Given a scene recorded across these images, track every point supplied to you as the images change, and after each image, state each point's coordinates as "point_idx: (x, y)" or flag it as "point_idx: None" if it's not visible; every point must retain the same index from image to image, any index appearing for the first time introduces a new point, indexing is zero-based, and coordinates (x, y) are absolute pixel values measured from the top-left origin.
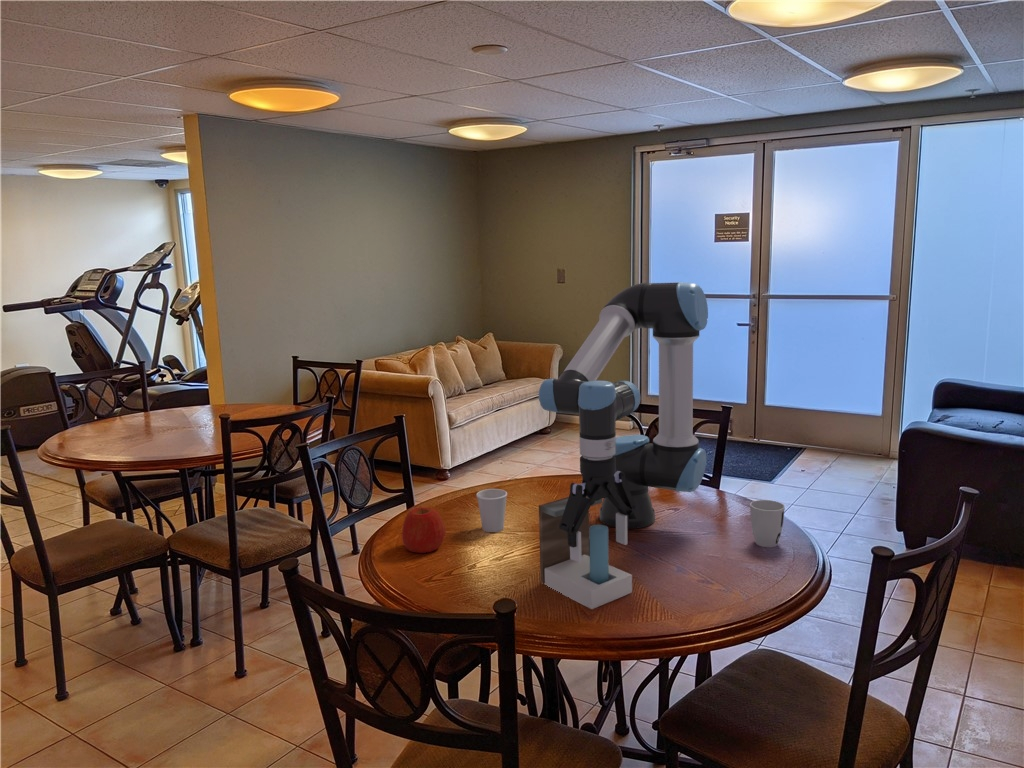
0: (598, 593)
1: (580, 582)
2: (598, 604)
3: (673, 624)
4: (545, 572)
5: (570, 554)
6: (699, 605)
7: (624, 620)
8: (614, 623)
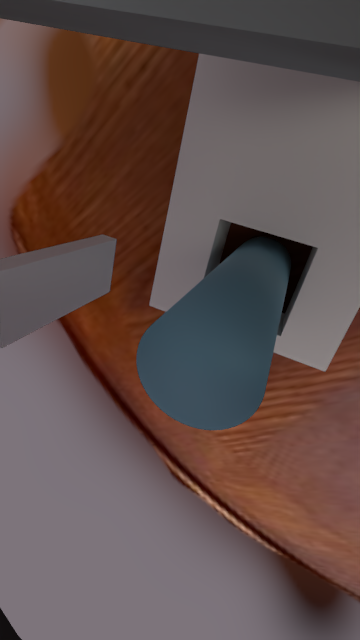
0: None
1: (177, 246)
2: None
3: (212, 458)
4: None
5: (90, 239)
6: (329, 497)
7: None
8: None
